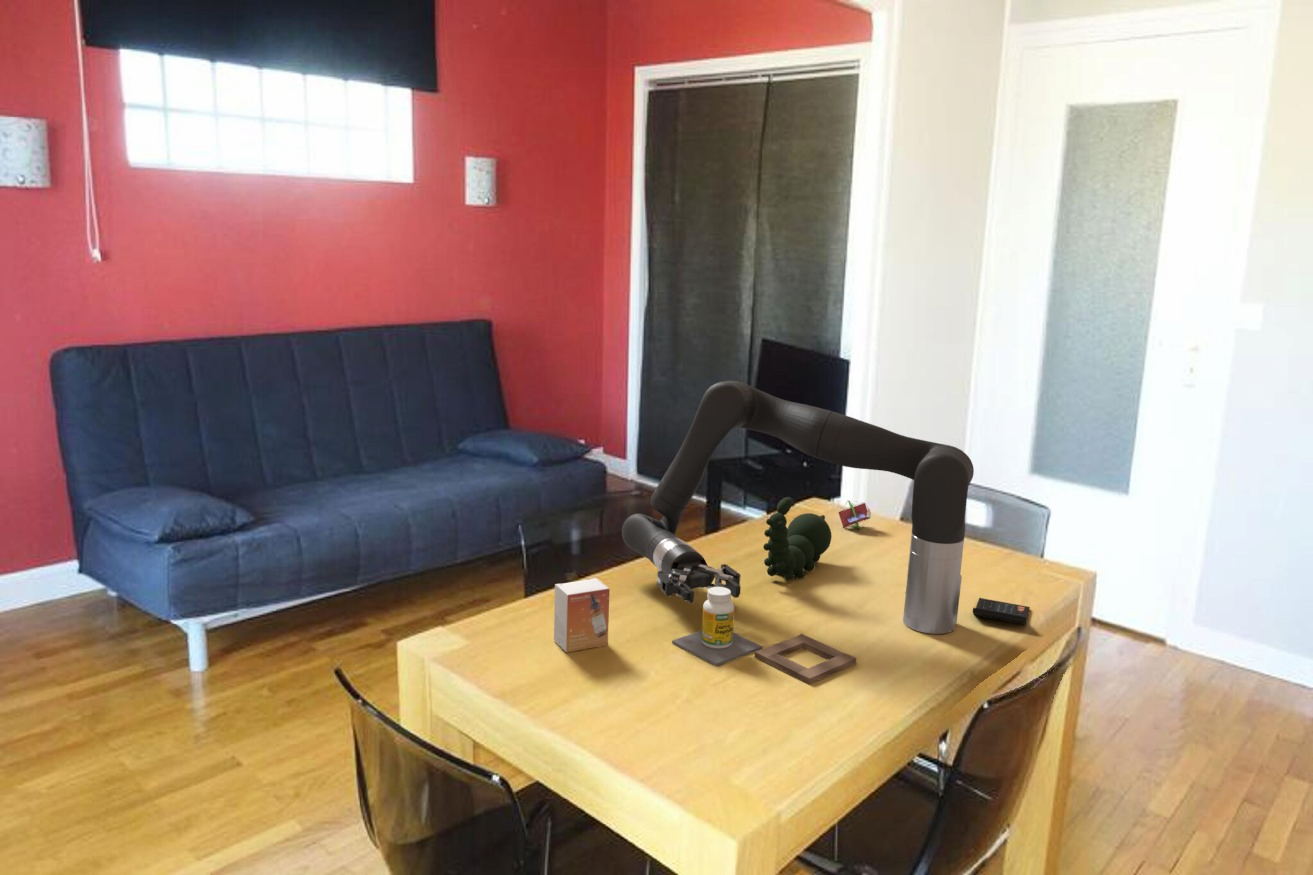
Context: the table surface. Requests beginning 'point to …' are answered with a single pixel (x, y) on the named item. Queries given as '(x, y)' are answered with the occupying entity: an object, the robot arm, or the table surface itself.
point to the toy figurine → (795, 542)
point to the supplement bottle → (718, 618)
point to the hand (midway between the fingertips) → (715, 595)
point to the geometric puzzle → (854, 515)
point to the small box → (581, 615)
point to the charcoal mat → (717, 656)
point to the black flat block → (1001, 611)
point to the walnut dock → (808, 675)
